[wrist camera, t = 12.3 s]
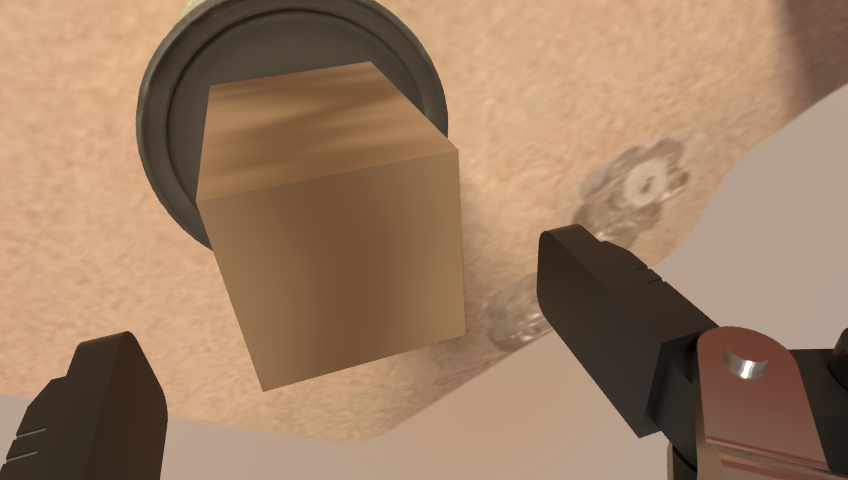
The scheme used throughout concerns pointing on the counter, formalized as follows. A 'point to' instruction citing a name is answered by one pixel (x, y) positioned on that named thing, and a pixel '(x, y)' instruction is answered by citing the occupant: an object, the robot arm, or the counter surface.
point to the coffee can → (261, 75)
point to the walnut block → (331, 220)
